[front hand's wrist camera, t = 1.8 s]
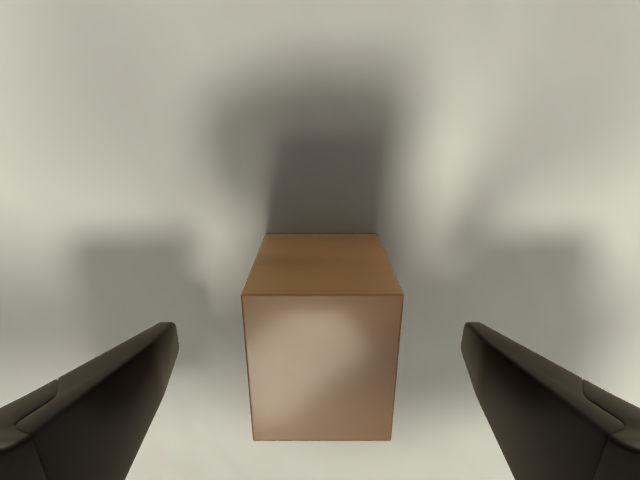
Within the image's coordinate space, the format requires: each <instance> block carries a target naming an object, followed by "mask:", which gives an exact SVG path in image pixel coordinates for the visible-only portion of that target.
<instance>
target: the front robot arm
mask: <svg viewBox="0 0 640 480" xmlns="http://www.w3.org/2000/svg"><path fill="white" fill-rule="evenodd" d="M178 350H179V343H178V336H177V330H176V325H175V324H174V323H173V322H161V323H158V324H157V325H155V326H153V327H151V328H149V329H147V330H146V331H144V332H142V333H140V334H138V335H136V336H135V337H133V338H131V339H129V340H127V341H125V342H124V343H122V344H120V345H118V346H116V347H114V348H113V349H111V350H109V351H107V352H105V353H103V354H102V355H100V356H98V357H96V358H94V359H92V360H91V361H89V362H87V363H85V364H83V365H81V366H80V367H78V368H76V369H74V370H72V371H70V372H69V373H67V374H65V375H63V376H61V377H59V378H58V380H54V381H52V382H50V383H48V384H46V385H45V386H43V387H41V388H39V389H37V390H35V391H33V392H31V393H29V394H28V395H26V396H24V397H22V398H20V399H18V400H16V401H14V402H12V403H10V404H8V405H6V406H4V407H1V408H0V480H125V478H126V476H127V474H128V472H129V470H130V467H131V465H132V463H133V461H134V459H135V457H136V454H137V452H138V450H139V448H140V446H141V444H142V442H143V439H144V437H145V435H146V433H147V431H148V429H149V426H150V424H151V422H152V420H153V418H154V416H155V414H156V411H157V409H158V407H159V405H160V403H161V400H162V398H163V396H164V393H165V390H166V388H167V384H168V381H169V378H170V375H171V372H172V369H173V366H174V363H175V360H176V357H177V354H178ZM461 350H462V354H463V357H464V360H465V363H466V366H467V369H468V372H469V375H470V378H471V381H472V385H473V388H474V390H475V393H476V396H477V398H478V400H479V403H480V405H481V407H482V409H483V411H484V414H485V416H486V418H487V420H488V422H489V424H490V427H491V429H492V431H493V433H494V435H495V437H496V439H497V442H498V444H499V446H500V448H501V450H502V452H503V455H504V457H505V459H506V461H507V463H508V465H509V467H510V470H511V472H512V474H513V476H514V478H515V480H640V408H639V407H636V406H634V405H632V404H630V403H628V402H626V401H624V400H622V399H620V398H618V397H616V396H614V395H612V394H611V393H609V392H607V391H605V390H603V389H601V388H599V387H597V386H595V385H594V384H592V383H590V382H588V381H586V380H582V378H581V377H579V376H577V375H575V374H573V373H571V372H570V371H568V370H566V369H564V368H562V367H560V366H559V365H557V364H555V363H553V362H551V361H549V360H548V359H546V358H544V357H542V356H540V355H538V354H537V353H535V352H533V351H531V350H529V349H527V348H526V347H524V346H522V345H520V344H518V343H516V342H515V341H513V340H511V339H509V338H507V337H505V336H504V335H502V334H500V333H498V332H496V331H494V330H493V329H491V328H489V327H487V326H485V325H483V324H482V323H479V322H467V323H466V324H465V325H464V330H463V336H462V343H461Z"/></svg>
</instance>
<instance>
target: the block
mask: <svg viewBox="0 0 640 480" xmlns="http://www.w3.org/2000/svg"><path fill="white" fill-rule="evenodd" d="M403 297H404V295H403V292H402V290H401V288H400V285H399V283H398V281H397V278H396V276H395V274H394V272H393V269H392V267H391V265H390V262H389V260H388V258H387V255H386V253H385V251H384V249H383V246H382V244H381V242H380V239H379V237H378V235H377V234H266V235H265V237H264V240H263V242H262V245H261V247H260V250H259V252H258V255H257V257H256V260H255V262H254V265H253V267H252V269H251V272H250V274H249V277H248V279H247V282H246V284H245V287H244V289H243V292H242V294H241V301H242V313H243V325H244V337H245V349H246V361H247V373H248V385H249V397H250V409H251V421H252V433H253V440H254V441H390V440H391V433H392V422H393V410H394V399H395V388H396V376H397V365H398V354H399V342H400V331H401V320H402V308H403Z"/></svg>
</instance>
